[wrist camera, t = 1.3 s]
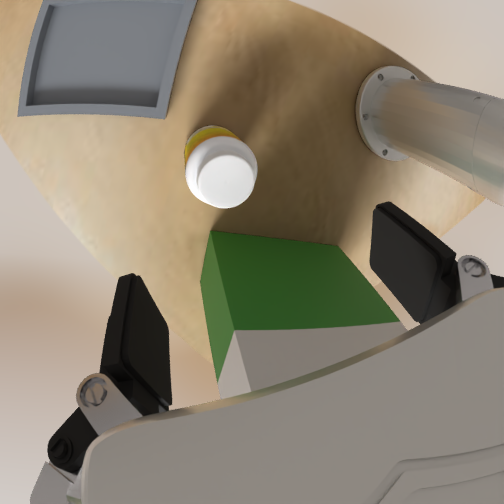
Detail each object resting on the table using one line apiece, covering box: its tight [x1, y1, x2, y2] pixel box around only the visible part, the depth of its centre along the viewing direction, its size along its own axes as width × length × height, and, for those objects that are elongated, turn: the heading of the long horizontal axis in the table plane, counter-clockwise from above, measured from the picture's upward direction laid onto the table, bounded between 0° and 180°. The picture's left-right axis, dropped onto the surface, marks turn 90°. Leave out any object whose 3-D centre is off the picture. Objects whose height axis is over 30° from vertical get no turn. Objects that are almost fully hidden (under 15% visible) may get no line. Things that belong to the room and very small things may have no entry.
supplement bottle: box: [184, 125, 258, 208], centre depth 23 cm, size 6×6×10 cm
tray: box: [18, 0, 198, 119], centre depth 17 cm, size 16×13×2 cm
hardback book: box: [200, 231, 407, 399], centre depth 27 cm, size 18×7×24 cm, turn 74°
